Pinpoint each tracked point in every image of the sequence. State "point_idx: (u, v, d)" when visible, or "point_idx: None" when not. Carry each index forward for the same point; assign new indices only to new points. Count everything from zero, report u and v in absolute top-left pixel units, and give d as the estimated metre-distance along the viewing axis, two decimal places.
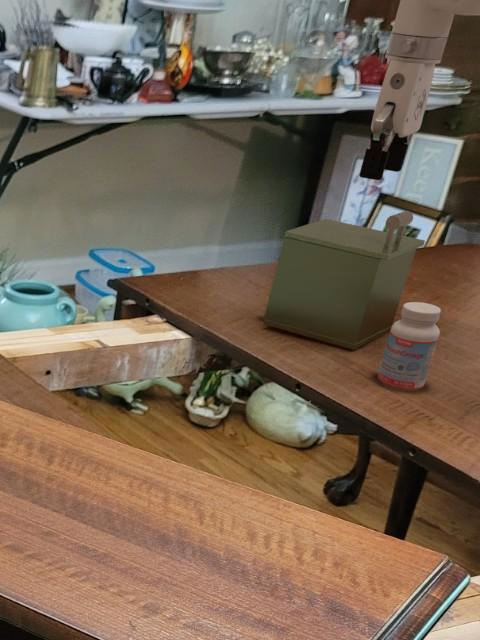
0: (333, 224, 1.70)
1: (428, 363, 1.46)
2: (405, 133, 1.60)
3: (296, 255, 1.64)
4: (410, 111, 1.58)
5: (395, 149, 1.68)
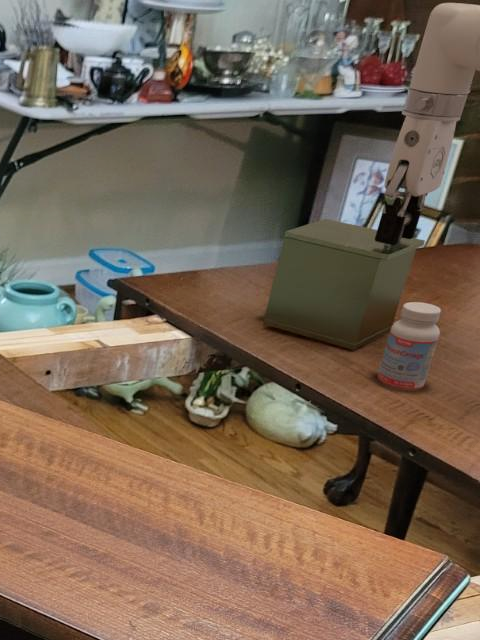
0: (333, 224, 1.70)
1: (428, 363, 1.46)
2: (420, 192, 1.53)
3: (296, 255, 1.64)
4: (425, 170, 1.51)
5: None
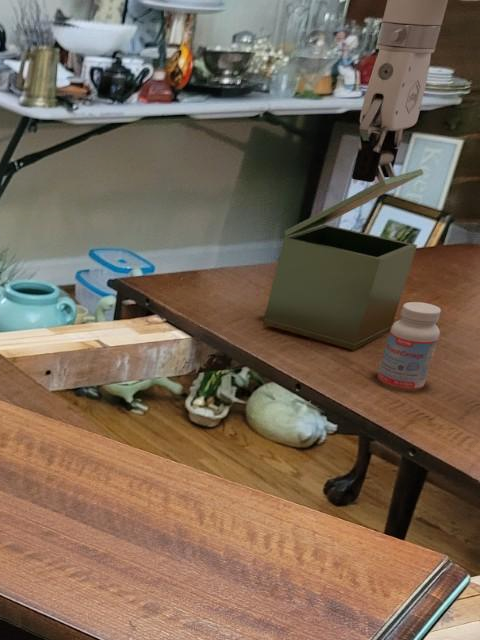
0: None
1: (428, 363, 1.46)
2: (395, 126, 1.52)
3: (296, 255, 1.64)
4: (400, 103, 1.50)
5: None
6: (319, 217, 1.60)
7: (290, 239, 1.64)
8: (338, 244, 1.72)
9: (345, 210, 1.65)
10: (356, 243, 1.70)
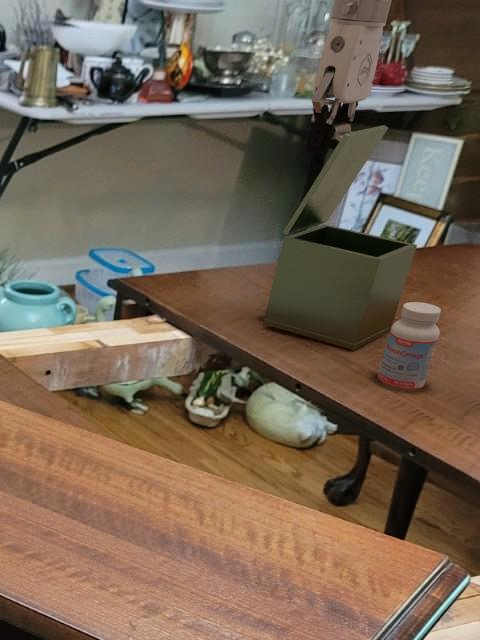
0: None
1: (428, 363, 1.46)
2: (347, 99, 1.55)
3: (296, 255, 1.64)
4: (352, 76, 1.53)
5: None
6: (307, 200, 1.60)
7: (290, 239, 1.64)
8: (338, 244, 1.72)
9: (333, 192, 1.65)
10: (356, 243, 1.70)
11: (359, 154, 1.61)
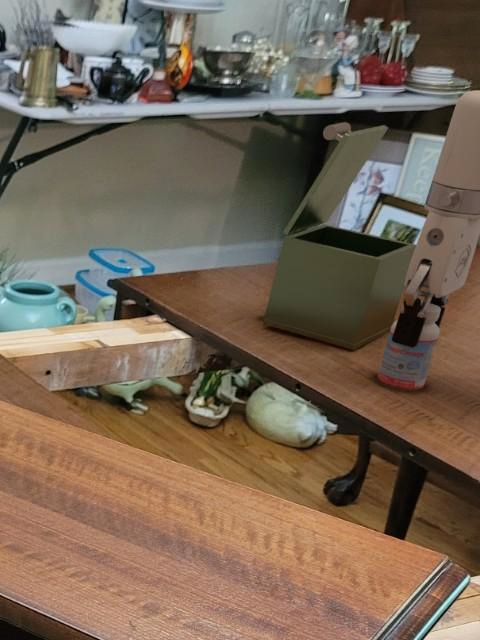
0: None
1: (428, 362, 1.46)
2: (443, 293, 1.39)
3: (296, 255, 1.64)
4: (450, 270, 1.38)
5: None
6: (307, 200, 1.60)
7: (290, 239, 1.64)
8: (338, 244, 1.72)
9: (333, 192, 1.65)
10: (356, 243, 1.70)
11: (359, 154, 1.61)
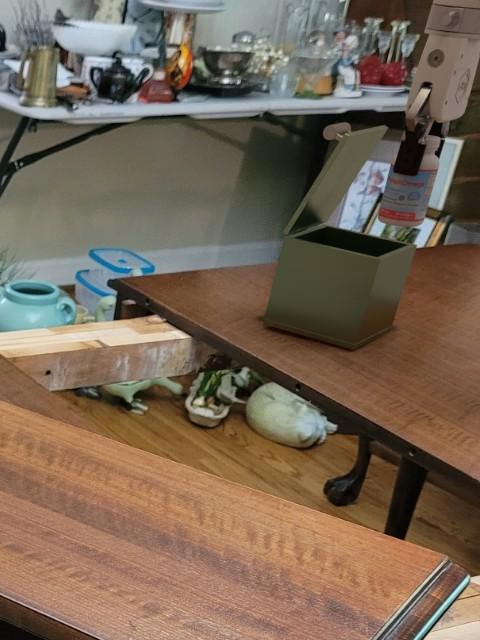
0: None
1: (428, 193, 1.49)
2: (444, 118, 1.42)
3: (296, 255, 1.64)
4: (450, 93, 1.40)
5: None
6: (307, 200, 1.60)
7: (290, 239, 1.64)
8: (338, 244, 1.72)
9: (333, 192, 1.65)
10: (356, 243, 1.70)
11: (359, 154, 1.61)
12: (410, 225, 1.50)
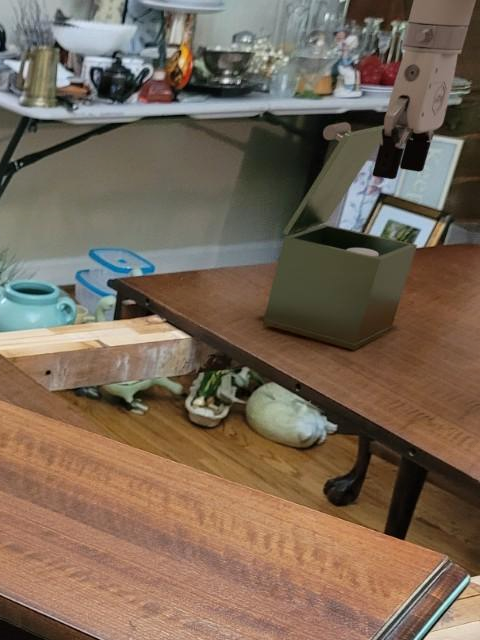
0: None
1: None
2: (421, 129, 1.49)
3: (296, 255, 1.64)
4: (426, 105, 1.48)
5: (416, 147, 1.58)
6: (307, 200, 1.60)
7: (290, 239, 1.64)
8: (338, 244, 1.72)
9: (333, 192, 1.65)
10: (356, 243, 1.70)
11: (359, 154, 1.61)
12: None
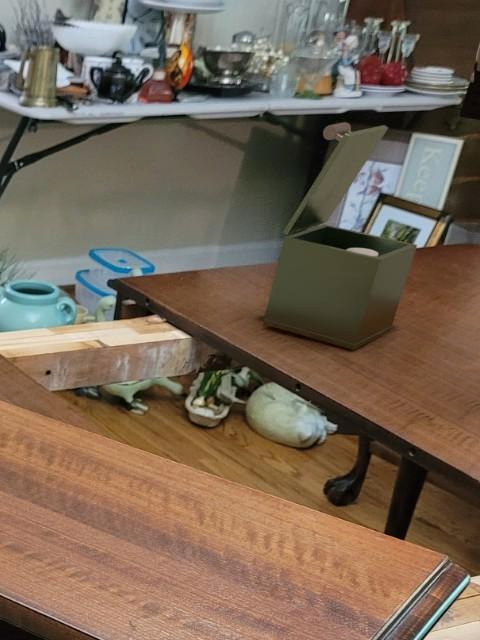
0: None
1: None
2: None
3: (296, 255, 1.64)
4: None
5: None
6: (307, 200, 1.60)
7: (290, 239, 1.64)
8: (338, 244, 1.72)
9: (333, 192, 1.65)
10: (356, 243, 1.70)
11: (359, 154, 1.61)
12: None
